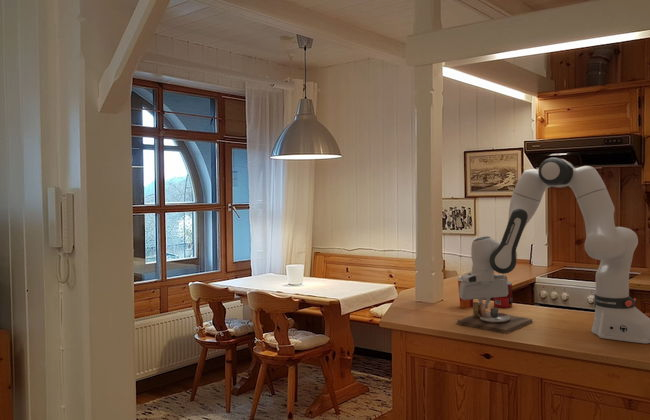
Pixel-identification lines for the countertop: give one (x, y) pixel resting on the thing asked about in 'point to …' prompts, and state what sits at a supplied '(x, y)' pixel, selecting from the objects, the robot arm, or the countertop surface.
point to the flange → (491, 315)
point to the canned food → (504, 298)
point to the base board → (496, 327)
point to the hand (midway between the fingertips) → (484, 308)
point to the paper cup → (464, 302)
